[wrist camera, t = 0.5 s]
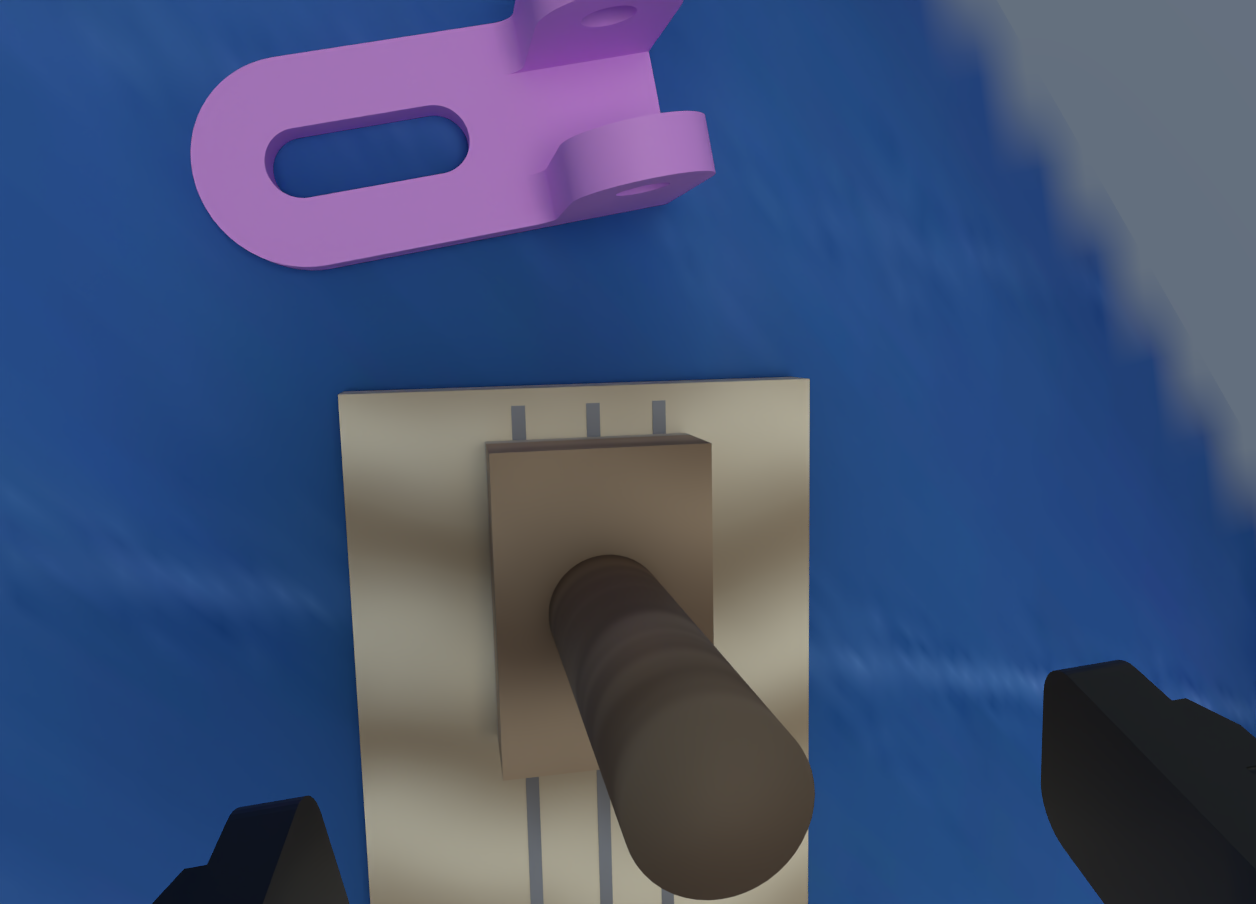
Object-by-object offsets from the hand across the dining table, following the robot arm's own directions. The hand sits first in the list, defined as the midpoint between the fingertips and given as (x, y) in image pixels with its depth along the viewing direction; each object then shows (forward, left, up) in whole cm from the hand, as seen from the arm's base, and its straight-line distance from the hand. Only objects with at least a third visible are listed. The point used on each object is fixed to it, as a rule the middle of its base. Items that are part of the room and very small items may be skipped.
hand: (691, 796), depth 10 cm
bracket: (-10, -2, -19) cm, 22 cm away
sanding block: (+3, +2, -17) cm, 18 cm away
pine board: (+8, +2, -19) cm, 20 cm away
